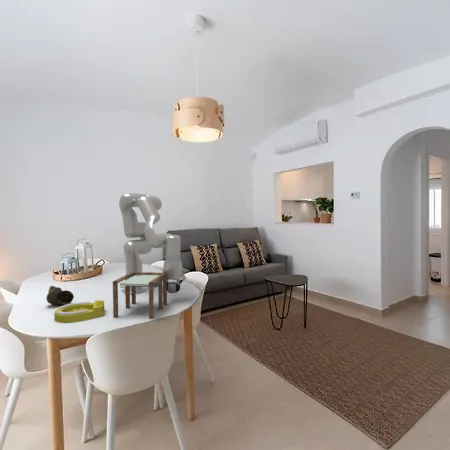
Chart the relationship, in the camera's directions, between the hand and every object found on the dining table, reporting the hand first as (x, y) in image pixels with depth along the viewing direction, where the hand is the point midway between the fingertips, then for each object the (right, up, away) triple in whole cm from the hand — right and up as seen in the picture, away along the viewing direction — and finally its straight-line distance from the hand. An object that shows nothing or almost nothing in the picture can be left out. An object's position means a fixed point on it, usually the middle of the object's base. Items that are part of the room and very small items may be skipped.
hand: (172, 290), depth 154 cm
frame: (-13, -7, -14) cm, 20 cm away
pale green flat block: (-13, +4, -14) cm, 20 cm away
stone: (0, -1, 0) cm, 1 cm away
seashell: (-58, -7, -6) cm, 59 cm away
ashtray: (-40, -7, -20) cm, 45 cm away
